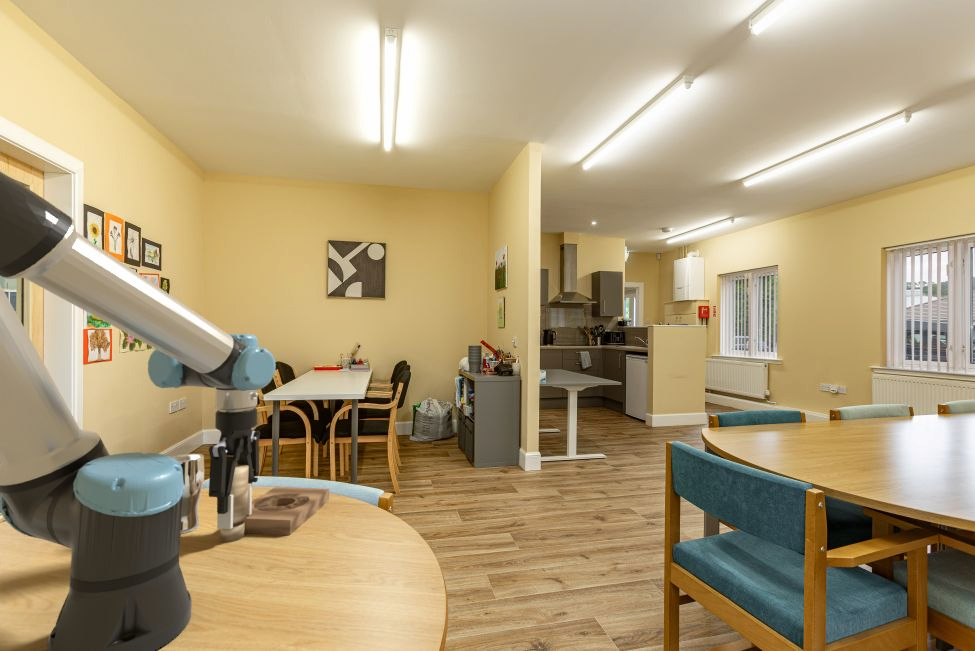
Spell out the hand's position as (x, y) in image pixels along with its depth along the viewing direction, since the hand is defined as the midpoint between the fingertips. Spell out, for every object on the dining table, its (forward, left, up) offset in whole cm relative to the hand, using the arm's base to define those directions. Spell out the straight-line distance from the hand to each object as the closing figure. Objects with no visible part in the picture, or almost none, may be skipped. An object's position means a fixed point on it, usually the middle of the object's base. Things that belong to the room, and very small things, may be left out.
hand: (235, 520), depth 91 cm
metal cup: (+3, +13, -3) cm, 14 cm away
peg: (0, 0, -3) cm, 3 cm away
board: (+12, -4, -3) cm, 13 cm away
